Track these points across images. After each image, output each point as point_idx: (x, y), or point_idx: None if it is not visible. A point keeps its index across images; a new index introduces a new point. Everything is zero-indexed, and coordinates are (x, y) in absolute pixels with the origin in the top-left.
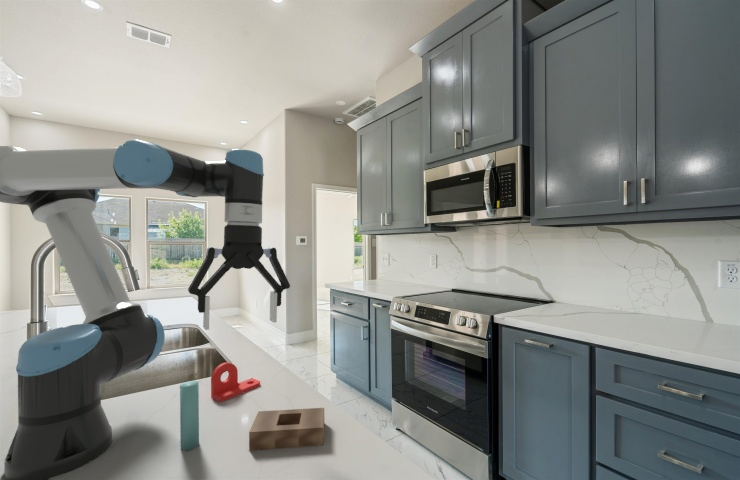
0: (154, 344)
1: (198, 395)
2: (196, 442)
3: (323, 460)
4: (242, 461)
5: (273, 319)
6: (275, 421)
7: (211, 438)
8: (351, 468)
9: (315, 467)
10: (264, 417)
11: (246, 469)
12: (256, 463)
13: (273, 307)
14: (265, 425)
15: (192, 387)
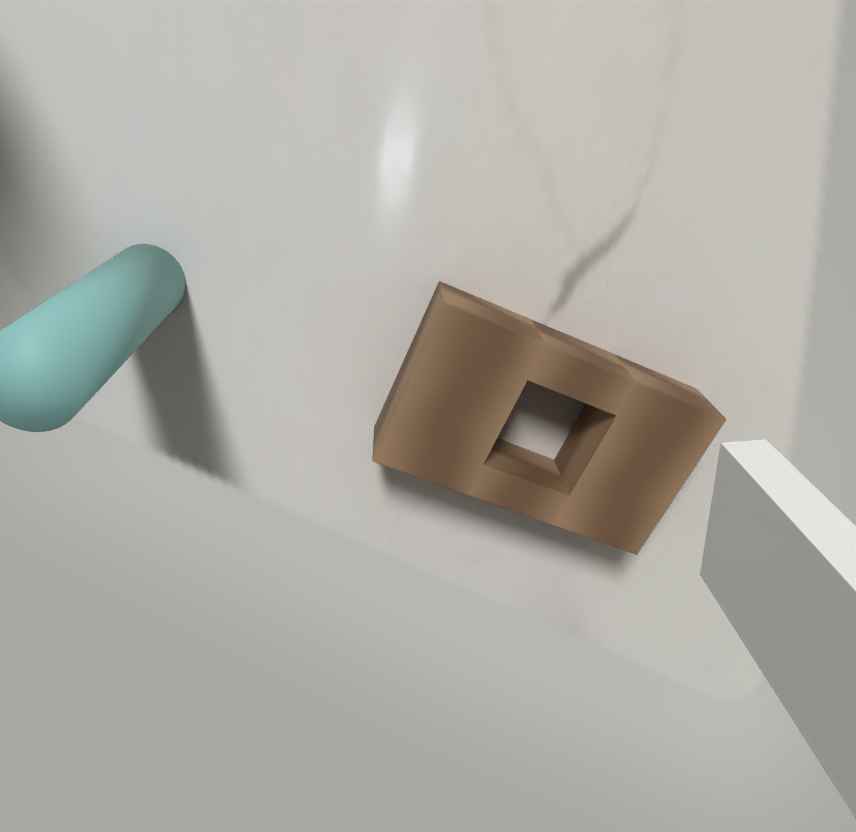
0: None
1: (110, 365)
2: (172, 310)
3: (579, 579)
4: (343, 475)
5: (718, 601)
6: (490, 432)
7: (235, 266)
8: (630, 640)
9: (543, 596)
10: (456, 376)
11: (350, 518)
12: (385, 505)
13: (797, 726)
14: (444, 444)
15: (56, 425)
